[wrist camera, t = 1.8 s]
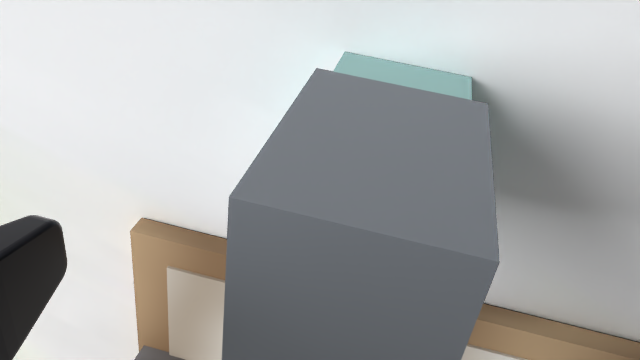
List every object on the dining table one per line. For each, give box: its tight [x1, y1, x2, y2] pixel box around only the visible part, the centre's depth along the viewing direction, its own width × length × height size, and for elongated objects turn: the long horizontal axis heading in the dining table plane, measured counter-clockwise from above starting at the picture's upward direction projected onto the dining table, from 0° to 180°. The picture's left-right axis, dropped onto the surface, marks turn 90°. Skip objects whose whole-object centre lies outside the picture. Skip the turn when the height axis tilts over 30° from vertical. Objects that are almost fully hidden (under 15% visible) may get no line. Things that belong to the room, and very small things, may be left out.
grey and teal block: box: [222, 52, 499, 360], centre depth 11 cm, size 4×4×7 cm
